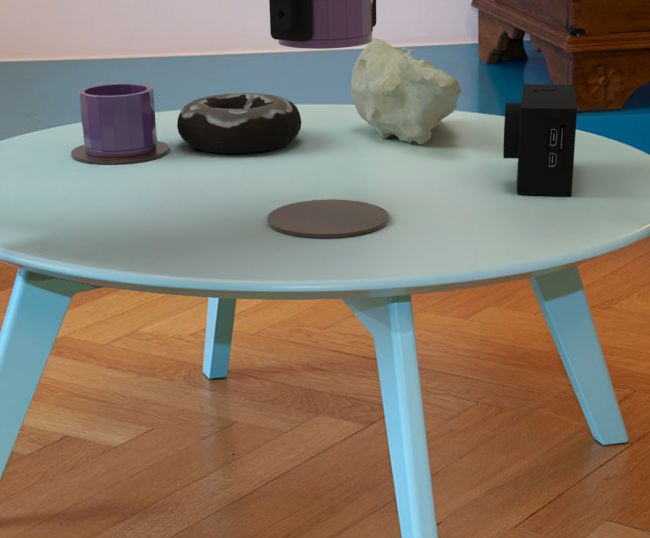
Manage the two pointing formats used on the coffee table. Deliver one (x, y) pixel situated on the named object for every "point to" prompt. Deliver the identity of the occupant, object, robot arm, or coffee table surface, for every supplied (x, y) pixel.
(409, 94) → the pale rock
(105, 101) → the ramekin
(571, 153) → the digital camera
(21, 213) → the coffee table surface
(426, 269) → the coffee table surface
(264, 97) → the donut
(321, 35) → the ramekin
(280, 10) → the robot arm
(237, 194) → the coffee table surface
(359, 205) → the coaster
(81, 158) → the coaster
